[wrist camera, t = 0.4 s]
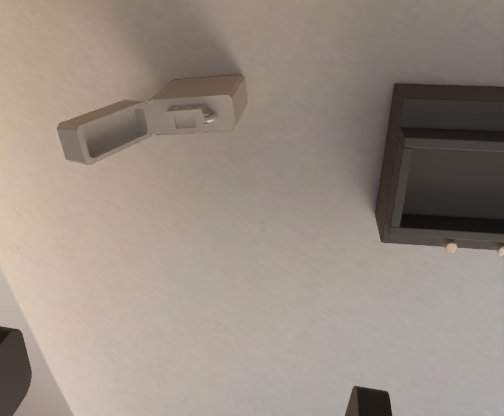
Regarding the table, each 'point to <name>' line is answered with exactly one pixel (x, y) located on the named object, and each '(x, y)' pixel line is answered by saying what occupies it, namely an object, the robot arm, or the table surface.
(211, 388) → the table surface
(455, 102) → the dark grey holder tray
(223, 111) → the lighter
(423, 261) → the table surface
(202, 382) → the table surface
